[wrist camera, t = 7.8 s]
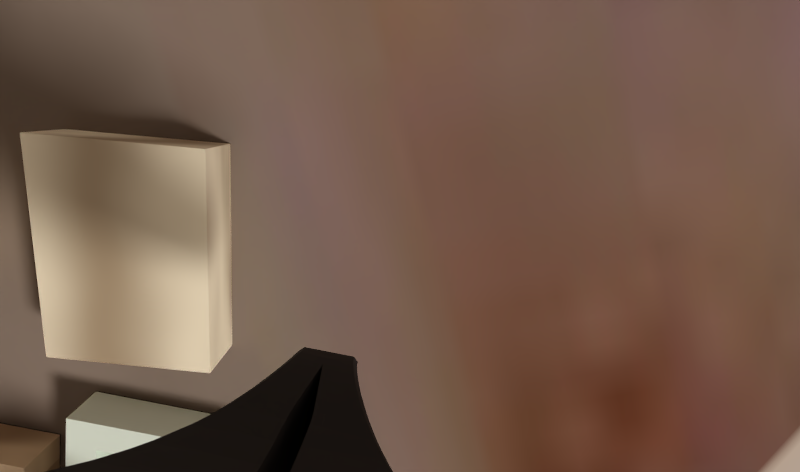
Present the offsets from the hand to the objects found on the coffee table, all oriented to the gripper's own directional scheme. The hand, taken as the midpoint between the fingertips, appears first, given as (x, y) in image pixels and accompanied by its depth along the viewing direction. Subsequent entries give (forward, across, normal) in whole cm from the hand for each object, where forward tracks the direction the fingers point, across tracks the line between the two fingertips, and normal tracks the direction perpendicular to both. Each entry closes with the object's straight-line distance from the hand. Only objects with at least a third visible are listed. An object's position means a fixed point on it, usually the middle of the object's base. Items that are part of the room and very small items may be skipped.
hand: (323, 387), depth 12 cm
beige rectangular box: (+8, +8, 0) cm, 11 cm away
